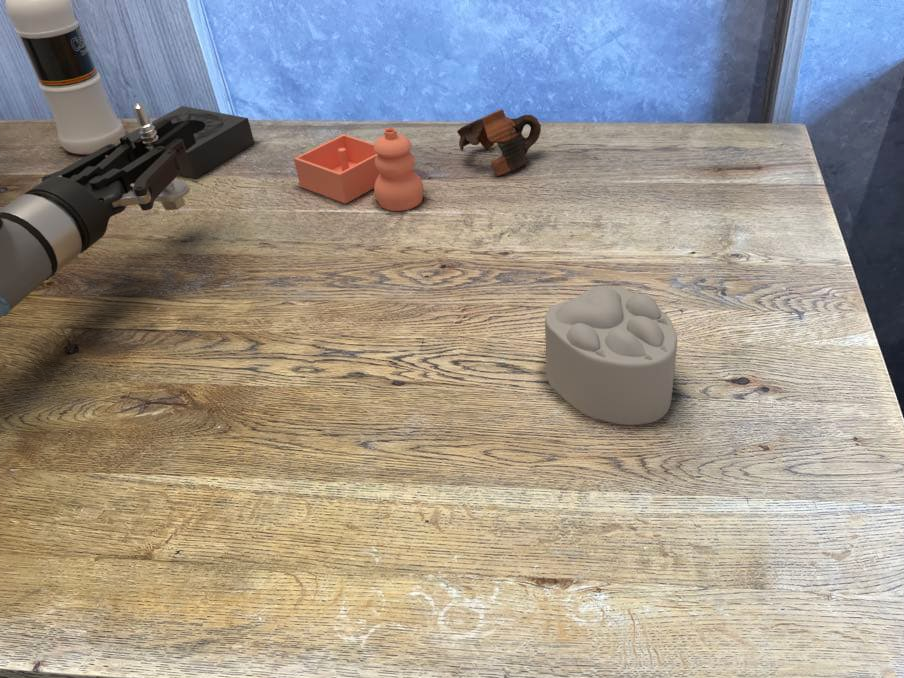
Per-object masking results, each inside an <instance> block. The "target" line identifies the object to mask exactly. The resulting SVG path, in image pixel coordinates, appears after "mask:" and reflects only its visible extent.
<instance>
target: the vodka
mask: <svg viewBox="0 0 904 678" xmlns="http://www.w3.org/2000/svg"><path fill="white" fill-rule="evenodd" d="M72 2H73V1H72V0H5V2H4V3H5V11H6V13H7V15H8V17H9V19H10V22H11V23H12V25H13V26H14V32H15V34H17V35H18V37H19V39H20V42H21V44H22V46H23V49H24V50H25V53H26V55H27V57H28V60H29V62H30V65H31V66H32V69H33V72H34V73H35V76H36V78H37V81H38V83H39V84H38V87H39V89H40V90H41V91H42V93H43V96H44V97H45V99H46V101H47V104H48V106H49V109H50V111H51V114H52V116H53V119H54V123H55V126H56V130H57V138H58V141H59V143H60V146H61V147H62V148H63V149H64V150H65V151H66V152H68V153H71V154H74V155H80V156H88V155H89V154H91V153H93V152H95V151H97V150H99V149H101V148H102V147H104V146H106V145H108V144H114V145H115V146H116V147H119V146H120V144H121V142H120V138H122V137H124V136H126V131H125V129H124V125H123V124H122V121H121V120H120V119H119V118H118V116H117V114H116V112H115V111H114V109H113V107H112V106H111V103H110V101H109V98H108V96H107V93H106V91H105V88H104V85H103V83H102V79H101V76H102V75H101V74H100V73H99V72H98V70H97V68H96V64H95V62H94V60H93V57H92V55H91V52H90V49H89V47H88V44H87V42H86V39H85V36H84V34H83V31H82V28H81V26H80V23H79V20H78V18H77V16H76V13H75V11H74V7H73V3H72Z"/></svg>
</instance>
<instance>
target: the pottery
mask: <svg viewBox="0 0 904 678" xmlns="http://www.w3.org/2000/svg"><path fill="white" fill-rule="evenodd" d="M411 148H412V143H411V140H410V139H409V138H408V137H407V136H405V135H403V134H399V133H398V129H397V128H395V127H387V128H384V129H383V135H382V136H380V137H378V138H377V139H376V140H375V141H374V143H373V142H369V141H367V140H364V139H361V138H358V137H354V136H352V135H348V134H345V133H343V134H341V135H339V136H337V137H334V138H333V139H331V140H328V141H326V142H325V143H322V144H320V145H318V146H317V147H314V148H312V149H310V150H308V151H306V152H303V153H302V154H300V155H298V156H296V157H294V158H293V162H294V165H295V171H296V174H297V178H298V182H299V183H298V184H299V186H300V187H301V188H303V189H305V190H308V191H310V192H313V193H316V194H318V195H321V196H323V197H327V198H328V199H329V198H330V199H332V200H334V201H337V202H339V203H343V204H348V203H350V202H352V201H353V200H355V199H357V198H359V197H361V196H362V195H364V194H366V193H368V192H369V191H371V190H373V189H374V190H373V191H374V192H373V193H374V196H375V197H376V200H377V202H378V205H379V206H380V208H382V209H385V210H387V211H391V212H392V211H393V212H401V211H408V210H411V209H413V208H416V207H418V206H419V205H420V204H421V203H422V202H423V198H424V197H423V196H424V184H423V181H422V179H421V177H420V176H419V174H418V173H417V172H416V171H415V170H414V168H415V165H416V160H415V156H414V154H413V153H412V152H411V151H410V150H411Z"/></svg>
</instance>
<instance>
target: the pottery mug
mask: <svg viewBox="0 0 904 678" xmlns="http://www.w3.org/2000/svg"><path fill="white" fill-rule="evenodd" d="M527 125H528V126H529V127H530V130H529V134H528V136H527V137H525V136H524V135H523V130H524V127H526V126H527ZM541 126H542V125H541V123H540V122H539V119H538V118H537V117H535V116H534V115H533V114H524V115H521V116H519V117H516V118H510V117H509V116H506V113H505V111H504V109H498V110H496V111H493V112H491V113H490V114H487V115H485V116H483V117H481V118H478V119H476V120H473V121H472V122H469V123H467V124H466V125H464V126H461V127H460V128H459V129H458V130H457V131H456V132H457V135H458V136H459V142H458V146H459V149H460V151H461V152H463V151H464V147H466V146H468V145H472V146H478V145H480V144H481V145H480V146H482V147H483V148H484V149H485V150H490V148H492V147H493V146H494V145H495V144H496V145H497V147H498V148H499V149H500V152H501V154H502V155H501V156H500V157H498V158H496V159H494V160H492V161H491V162H490V163H491V166H492V168H493V170H494V173H495V176H496V177H500V176H503V175H505V174H507V173H509V172H512V171H514V170H517V169H520V168H522V167H524V166H525V165H526V164H527V163H526V161H527V160H526V155H527V153H528V151H529V149H530V148H531V147H532V146H534V145H535V144H536V143H537V142H538V140H539V138H540V135H541V132H542V127H541Z"/></svg>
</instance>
